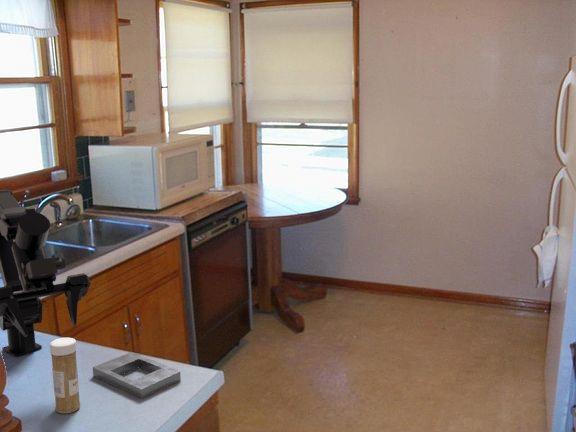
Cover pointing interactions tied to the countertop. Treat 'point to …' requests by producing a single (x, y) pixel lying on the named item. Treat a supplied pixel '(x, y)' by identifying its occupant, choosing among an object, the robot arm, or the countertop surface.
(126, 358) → the gray rectangular frame
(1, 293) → the robot arm
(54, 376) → the sprinkles bottle
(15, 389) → the countertop surface
